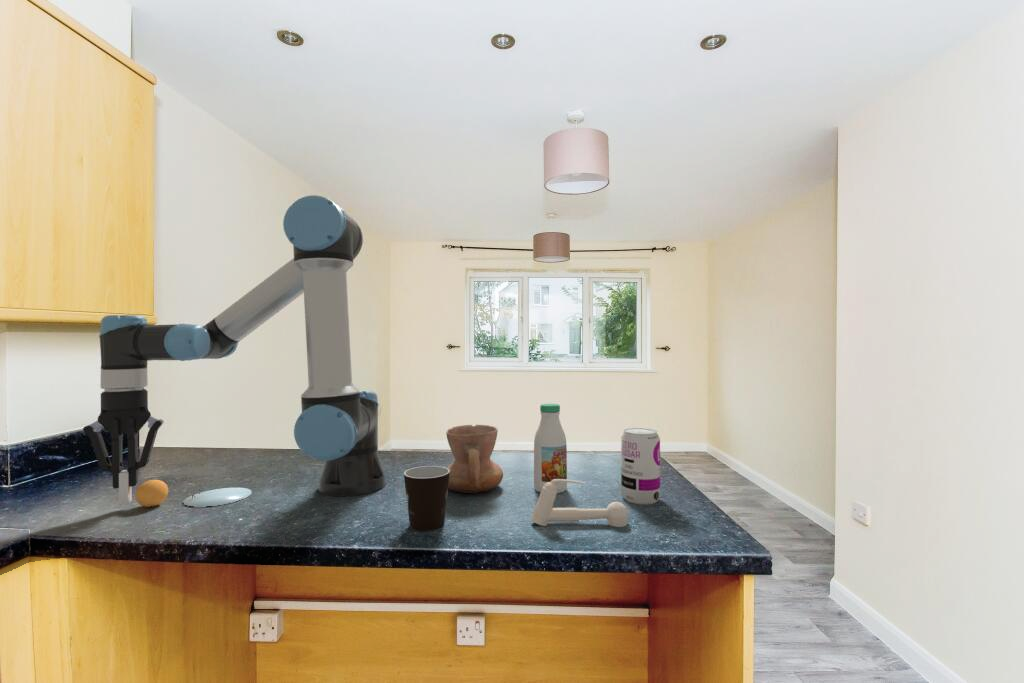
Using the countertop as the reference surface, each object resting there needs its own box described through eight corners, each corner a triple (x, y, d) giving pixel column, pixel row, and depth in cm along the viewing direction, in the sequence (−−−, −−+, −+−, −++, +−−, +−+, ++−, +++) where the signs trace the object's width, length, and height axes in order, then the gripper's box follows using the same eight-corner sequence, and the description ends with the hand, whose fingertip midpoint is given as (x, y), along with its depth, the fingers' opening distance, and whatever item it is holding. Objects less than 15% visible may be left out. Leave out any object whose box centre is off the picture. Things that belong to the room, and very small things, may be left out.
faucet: (621, 553, 86) (637, 502, 86) (531, 522, 86) (548, 472, 86) (615, 543, 90) (632, 495, 90) (530, 514, 90) (546, 466, 90)
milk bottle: (529, 492, 107) (529, 405, 107) (540, 483, 114) (539, 401, 114) (561, 496, 104) (561, 407, 104) (570, 486, 111) (570, 403, 111)
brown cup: (440, 535, 83) (440, 479, 83) (395, 531, 84) (395, 476, 84) (460, 512, 94) (460, 463, 94) (420, 509, 96) (420, 461, 96)
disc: (252, 485, 113) (252, 484, 113) (250, 501, 101) (250, 500, 101) (188, 493, 107) (188, 492, 107) (177, 511, 95) (177, 510, 95)
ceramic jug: (444, 478, 118) (443, 423, 118) (501, 476, 119) (500, 421, 119) (438, 504, 100) (437, 438, 100) (505, 501, 101) (504, 436, 101)
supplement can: (662, 496, 104) (661, 429, 104) (657, 507, 96) (656, 435, 96) (625, 491, 107) (625, 426, 107) (618, 502, 100) (617, 432, 100)
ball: (170, 500, 102) (170, 475, 102) (165, 507, 97) (165, 481, 97) (139, 504, 100) (139, 478, 100) (132, 512, 95) (132, 485, 95)
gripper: (166, 386, 103) (167, 492, 103) (90, 389, 97) (90, 502, 97) (159, 389, 96) (160, 502, 96) (76, 392, 90) (77, 514, 90)
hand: (125, 502), depth 96 cm, fingers closed
